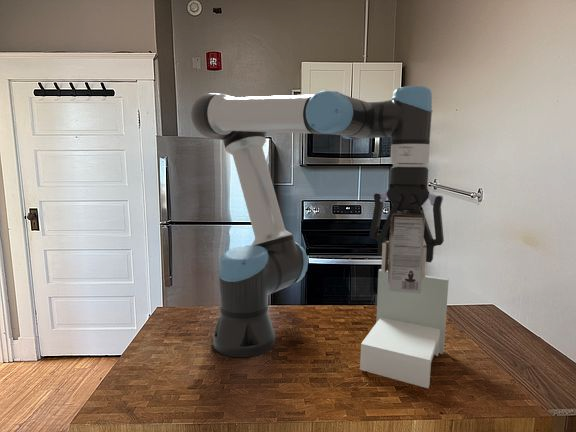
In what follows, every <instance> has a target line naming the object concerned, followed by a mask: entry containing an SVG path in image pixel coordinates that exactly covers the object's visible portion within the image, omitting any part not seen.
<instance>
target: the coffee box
mask: <svg viewBox="0 0 576 432" xmlns="http://www.w3.org/2000/svg"><path fill="white" fill-rule="evenodd" d="M425 218H426V215H425V213H424V214H423V213H422V214H415V213H414V212H410V211H407V210H405V211H397V212H392V213H391V225H390V231H389V233H388V234H389V235H388V236H389V237H388V239H389V240H388V241H389V255H388V283H389V291H394V292H408V293H420V287H421V271H422V254H423V246H424V241H425V240H424V224H425Z"/></svg>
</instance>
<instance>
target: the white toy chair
mask: <svg viewBox="0 0 576 432" xmlns="http://www.w3.org/2000/svg"><path fill="white" fill-rule="evenodd" d="M377 276H378V277H377V294H376V295H377V298H376V299H377V301H376V321H375V322H376V323H375V324H374V326H373V327H372V328H371V329H370V331H369V332H368V334H367V335H366V336H365V338H364V339H363V340H362V342H361V343H360V361H359V362H360V363H359V364H360V365H359V366H360V367H359V370H360V371H363V372H366V371H367V373H371V374H375V375H376V376H377V375H378V376H382V377H385V378H388V379H392V380H395V381H400V382H403V383H406V384H409V385H410V384H411V385H414V386H418V387H422V388H425V389H429V387H430V385H431V384H430V381H431V380H430V379H431V367H432V361H433V359H434V356H435V355H436V357H438V356H439V353H440V355H444V353H443V352H445V340H446V322H447V310H448V309H447V308H448V298H449V297H448V294H449V281H450V278H446V277H440V276H435V275H434V276H432V275H426V277H425V279H423V278H421V287H420V293H408V292H394V291H389V283H388V270H387V271H386V272H385V273H381V268H379V269H378V273H377Z"/></svg>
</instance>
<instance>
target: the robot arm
mask: <svg viewBox="0 0 576 432" xmlns="http://www.w3.org/2000/svg"><path fill="white" fill-rule="evenodd" d="M432 99H433V93H432V90H431V89H430V88H429V87H426V86H422V85H409V86H402V87H398V88H396V89H395V90H394V91H393V94H392V98H391V99H390V100H384V101H373V102H372V101H371V102H369V101H365V100H361V99H358V98H354V97H352V96H349V95H345V94H344V93H341V92H339V91H333V90H321V91H318V92H317V93H315V94H297V95H295V94H294V95H271V96H270V95H269V96H267V95H266V96H245V97H243V96H241V97H239V96H238V97H235V96H231V95H228V94H226V93H217V92H210V93H208V92H207V93H204V94H201V95H200V96H199V97H197V99H196V100H195V101H194V102H193V104H192V107H191V110H190V118H191V122H192V124H193V127H194V129H195V130H196V131H198V133H199V134H200V135H202V136H203V137H206V138H208V139H213V140H222V142H223V146H224V149H225V152H227V153H228V154H230V155H231V156H232V157H233V162H234V165H235V169H236V172H237V176H238V180H239V183H240V187H241V191H242V195H243V198H244V202H245V206H246V209H247V212H248V216H249V220H250V224H251V227H252V228H251V229H252V231H253V235H254V240H253V242H252V243H251V244H250V245H245V246H236V247H233V248H230V249H229V250H226V251H225V252H224V253H223V254H222V255H221V257H220V259H219V269H218V277H219V281H218V282H219V283H218V284H219V308H220V309H219V311H220V312H219V316H218V320H217V323H216V326H215V330H214V332H213V337H212V338H213V341H212V342H213V348H214V349H215V350H216V352H218V353H220V354H221V355H223V356H227V357H231V358H232V357H233V358H251V357H256V356H259V355H263V354H265V353H267V352H268V351H270V350H271V349H272V348H273V347H274V346H275V343H276V334H275V329H274V327H273V324H272V321H271V318H270V315H269V314H270V313H269V307H268V306H269V295H271V294H274V293H277V292H278V291H280V290H283V289H285V288H288V287H289V288H291V287H292V286H294V285H295V284H296V283H298V282H300V281H301V280H302V279H303V278H304V277H305V276H306V272H307V271H308V267H309V266H308V265H309V260H308V255H307V253H306V250H305V248H304V247H303V246H302V245H300V243H298V242H296V241H295V239H294V235H293V233H291V232H290V231H288V230H287V229H286V227H285V224H284V219H283V216H282V213H281V209H280V205H279V203H278V198H277V195H276V191H275V188H274V184H273V180H272V177H271V172H270V170H269V166H268V162H267V160H266V159H267V158H266V156H265V152H264V145H265V143H266V141H267V139H266V135H267V134H268V133H289V134H290V133H293V134H314V135H336V136H341V137H342V138H343V139H346V140H347V139H348V140H361V139H377V138H390V140H391V141H390V164H391V165H392V167H390V168H389V185H388V189H387V191H386V192H376V193H374V195H373V199H374V200H373V201H374V208H373V213H372V220H371V225H370V230H369V236H368V237H369V239H374V240H376V241H377V256H378V257H381V268H380V269H381V273H385V272H386V271H387V270H388V257H389V240H387V237H388V236H389V235H388V234H389V233H390V225H391V213H392V212H397V211H405V210H407V211H410V212H414V213H415V214H422V213H423V214H424V215H425V212H424V211H425V210H424V207H423V205H424V204H425V203H426V202H427V201H428V200H429V202H430V205H431V206H432V212H433V213H432V215H433V223H434V233H435V235H434V237H435V238H433V234H432V232H431V229H430V227H429V224H428V221H427V218H426V217H425V224H424V240H423V241H424V243H425V244H423V254H422V271H421V278H423V279H425V277H426V275H427V274H428V272H427V271H428V263H432V261H433V260H434V250H435V249H434V248H435V247H436V246H442V244H443V243H444V241H445V240H444V229H443V228H444V226H443V217H442V216H443V215H442V204H443V201H444V196H443V195H441V194H439V195H437V194H433V193H430V191H429V189H428V183H429V182H428V180H429V178H428V177H429V168H428V167H426V165H428V164H429V163H430V150H431V149H430V148H431V144H430V143H431V139H430V138H431V127H432V115H433V109H432V108H433V105H432V104H433V103H432V101H433V100H432ZM387 199H388V200H389V201H390V203H391V205H392V206H391V208H390V210H389V213H388V215H387V217H386V220H385V221H384V224H383V226H382V228H381V230H380V226H381V220H382V215H383V208H384V203H385V202H386V200H387ZM379 230H380V233H379ZM427 276H428V275H427Z"/></svg>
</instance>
